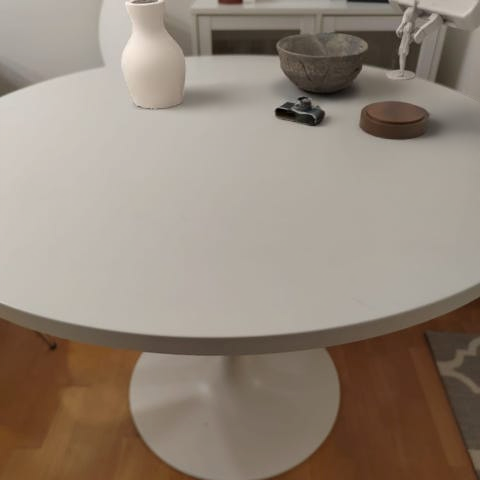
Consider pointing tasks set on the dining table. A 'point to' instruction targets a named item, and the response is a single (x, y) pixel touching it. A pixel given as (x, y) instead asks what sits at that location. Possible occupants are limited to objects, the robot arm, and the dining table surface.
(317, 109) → the camera
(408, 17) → the figurine
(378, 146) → the dining table surface
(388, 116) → the stand
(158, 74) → the vase
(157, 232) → the dining table surface
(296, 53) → the bowl
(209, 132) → the dining table surface
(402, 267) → the dining table surface
